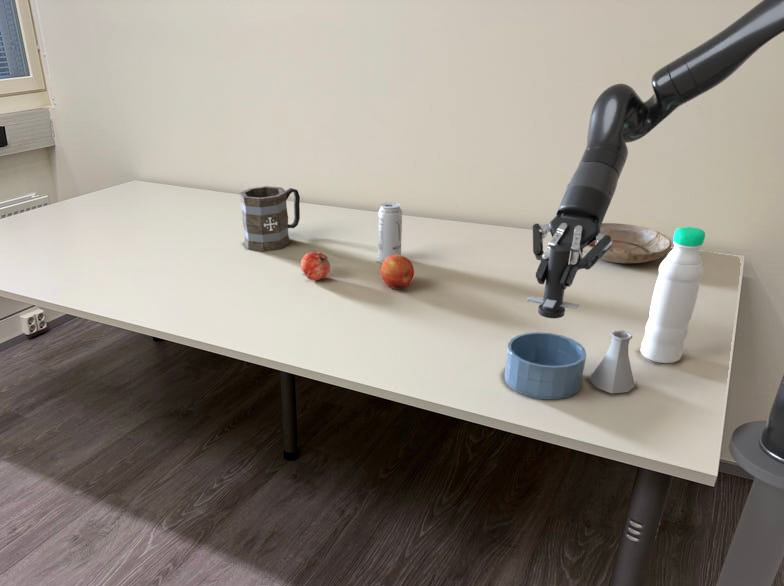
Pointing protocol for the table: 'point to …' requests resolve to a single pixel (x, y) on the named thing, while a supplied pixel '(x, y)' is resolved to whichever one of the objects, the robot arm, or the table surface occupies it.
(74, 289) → the table surface
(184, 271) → the table surface
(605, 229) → the ceramic bowl
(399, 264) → the apple
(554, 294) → the chopping blade
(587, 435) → the table surface
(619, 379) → the flask
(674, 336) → the water bottle
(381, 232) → the energy drink can
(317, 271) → the pomegranate
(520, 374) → the processor bowl
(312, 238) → the table surface
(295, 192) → the mug
